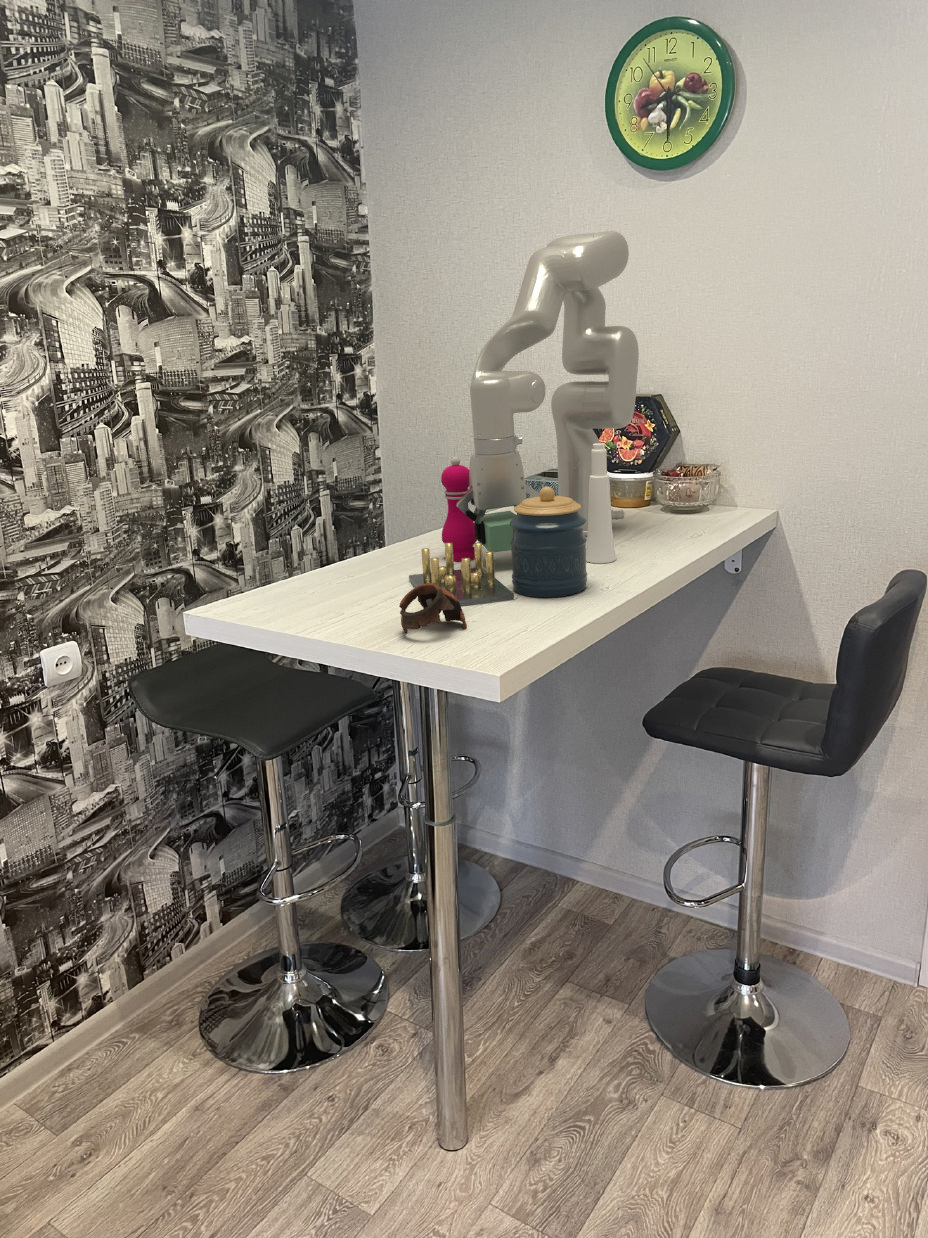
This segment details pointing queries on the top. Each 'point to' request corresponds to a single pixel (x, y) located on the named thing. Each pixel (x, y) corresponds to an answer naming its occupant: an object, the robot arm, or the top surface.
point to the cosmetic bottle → (599, 511)
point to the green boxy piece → (498, 531)
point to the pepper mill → (457, 512)
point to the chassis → (464, 577)
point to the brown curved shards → (430, 607)
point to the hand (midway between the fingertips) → (501, 539)
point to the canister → (548, 546)
